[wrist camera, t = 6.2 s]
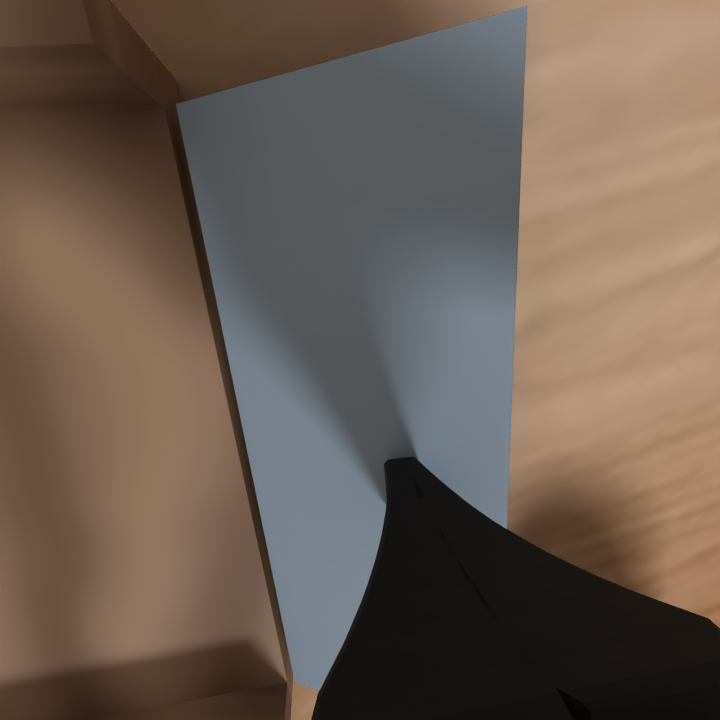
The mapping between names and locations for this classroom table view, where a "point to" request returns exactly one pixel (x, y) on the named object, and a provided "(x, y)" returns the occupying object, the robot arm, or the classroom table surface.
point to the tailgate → (365, 294)
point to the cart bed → (117, 401)
